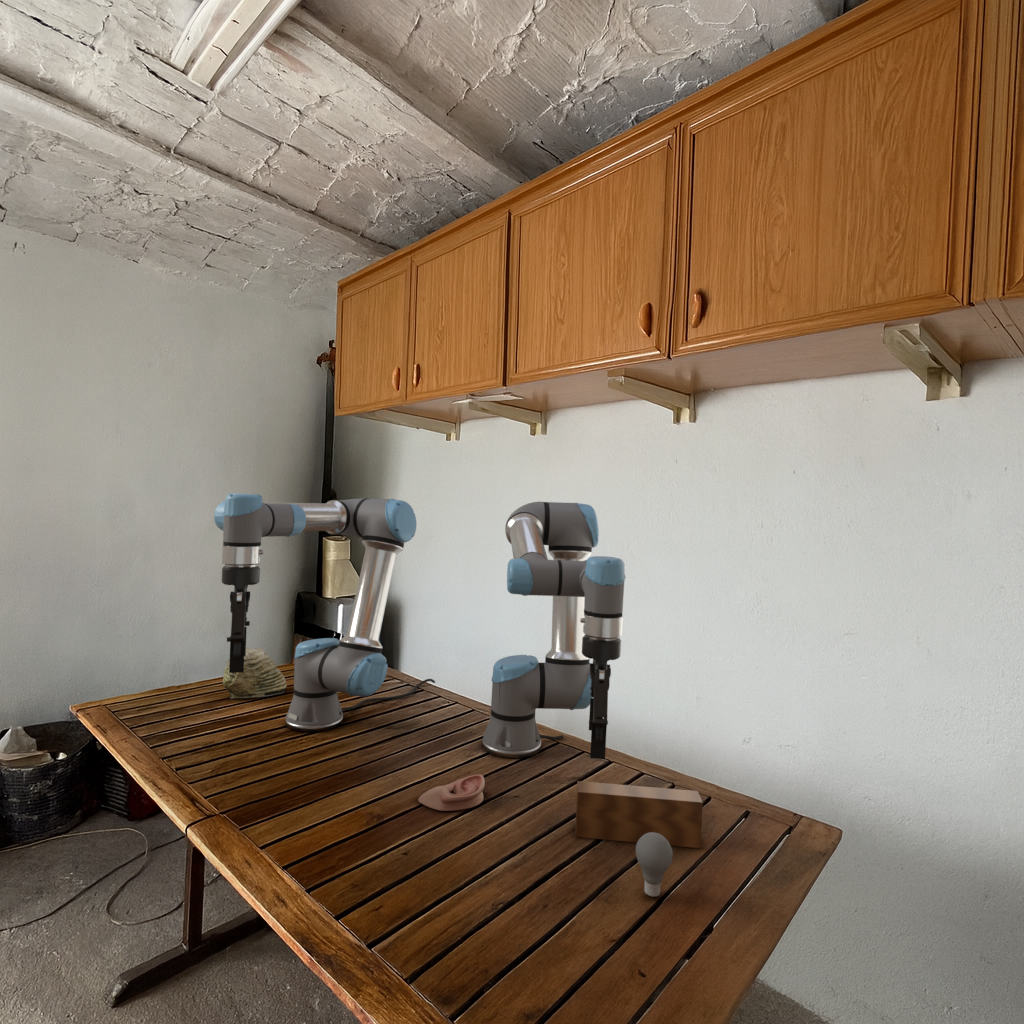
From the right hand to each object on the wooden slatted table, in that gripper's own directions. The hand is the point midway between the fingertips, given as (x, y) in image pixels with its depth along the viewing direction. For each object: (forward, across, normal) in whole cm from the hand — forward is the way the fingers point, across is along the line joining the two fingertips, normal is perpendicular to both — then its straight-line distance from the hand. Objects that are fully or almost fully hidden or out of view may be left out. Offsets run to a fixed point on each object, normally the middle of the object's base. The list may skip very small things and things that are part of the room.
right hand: (596, 743), depth 124 cm
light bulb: (+17, +19, +9) cm, 27 cm away
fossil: (+19, -63, -103) cm, 123 cm away
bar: (+17, +1, +9) cm, 19 cm away
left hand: (-9, -5, -77) cm, 78 cm away
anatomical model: (+18, -7, -30) cm, 35 cm away
